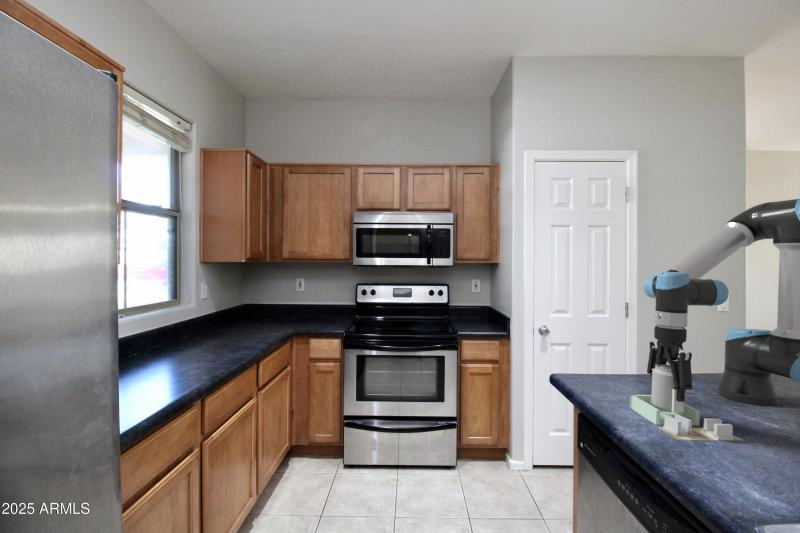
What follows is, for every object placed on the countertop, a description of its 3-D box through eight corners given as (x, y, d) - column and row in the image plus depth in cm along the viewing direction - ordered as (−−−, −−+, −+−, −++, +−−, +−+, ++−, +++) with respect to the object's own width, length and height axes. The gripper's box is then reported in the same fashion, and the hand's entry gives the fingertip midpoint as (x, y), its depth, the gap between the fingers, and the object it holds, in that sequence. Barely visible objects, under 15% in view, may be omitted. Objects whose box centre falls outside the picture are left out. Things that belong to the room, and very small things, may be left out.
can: (688, 414, 106) (690, 371, 106) (657, 412, 108) (659, 369, 108) (674, 404, 114) (676, 364, 113) (646, 402, 115) (648, 362, 115)
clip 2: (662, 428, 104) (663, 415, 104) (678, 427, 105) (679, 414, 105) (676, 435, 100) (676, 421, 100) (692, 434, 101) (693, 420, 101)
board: (719, 430, 105) (720, 428, 105) (743, 442, 98) (743, 440, 98) (657, 429, 105) (657, 427, 105) (676, 441, 98) (676, 439, 98)
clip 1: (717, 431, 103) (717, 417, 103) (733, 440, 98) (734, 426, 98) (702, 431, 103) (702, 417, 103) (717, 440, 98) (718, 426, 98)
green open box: (668, 409, 119) (668, 395, 118) (699, 427, 107) (699, 411, 106) (629, 409, 118) (629, 394, 118) (655, 426, 106) (656, 410, 106)
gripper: (635, 320, 120) (632, 393, 121) (684, 333, 100) (680, 421, 101) (659, 320, 120) (655, 393, 121) (712, 334, 100) (708, 421, 101)
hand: (666, 406), depth 111 cm, fingers closed on can, 7 cm apart
